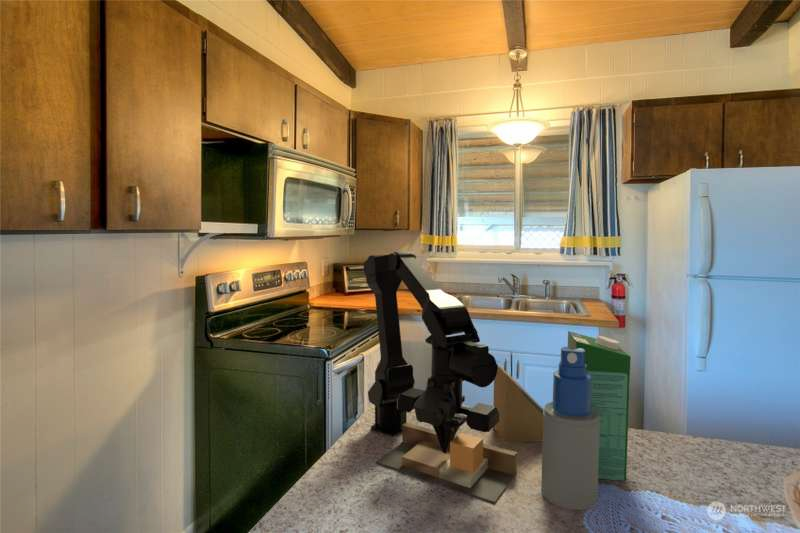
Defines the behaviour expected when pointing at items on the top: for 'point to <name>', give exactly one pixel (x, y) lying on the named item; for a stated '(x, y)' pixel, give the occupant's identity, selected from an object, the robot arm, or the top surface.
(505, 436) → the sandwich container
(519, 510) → the top surface
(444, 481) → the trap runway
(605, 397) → the milk carton
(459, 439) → the block
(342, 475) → the top surface
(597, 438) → the spray bottle
